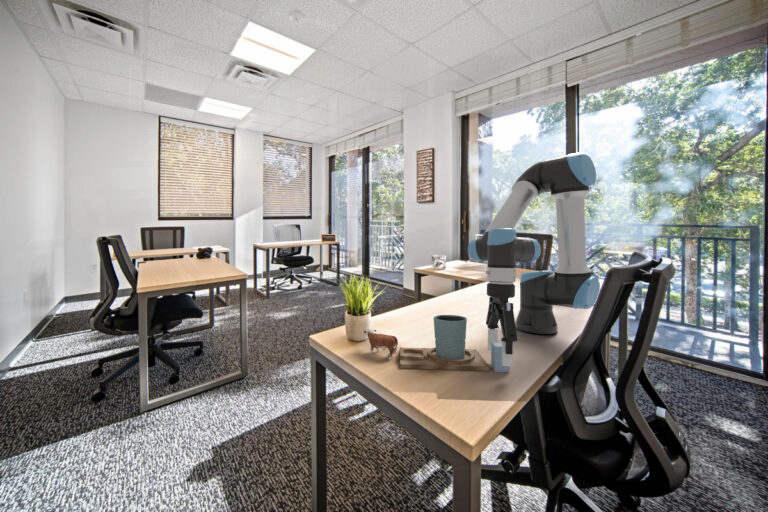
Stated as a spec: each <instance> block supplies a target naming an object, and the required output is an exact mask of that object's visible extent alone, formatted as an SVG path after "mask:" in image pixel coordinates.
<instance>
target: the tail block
mask: <svg viewBox="0 0 768 512" xmlns="http://www.w3.org/2000/svg"><path fill="white" fill-rule="evenodd" d="M490 356H491V357H490V367H491V369H492V370H493V371H494V372H495V373H498V372H499V373H501V372H502V373H510V371H511V370H510V369H511V366H502V342H498V343H491V351H490Z"/></svg>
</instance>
